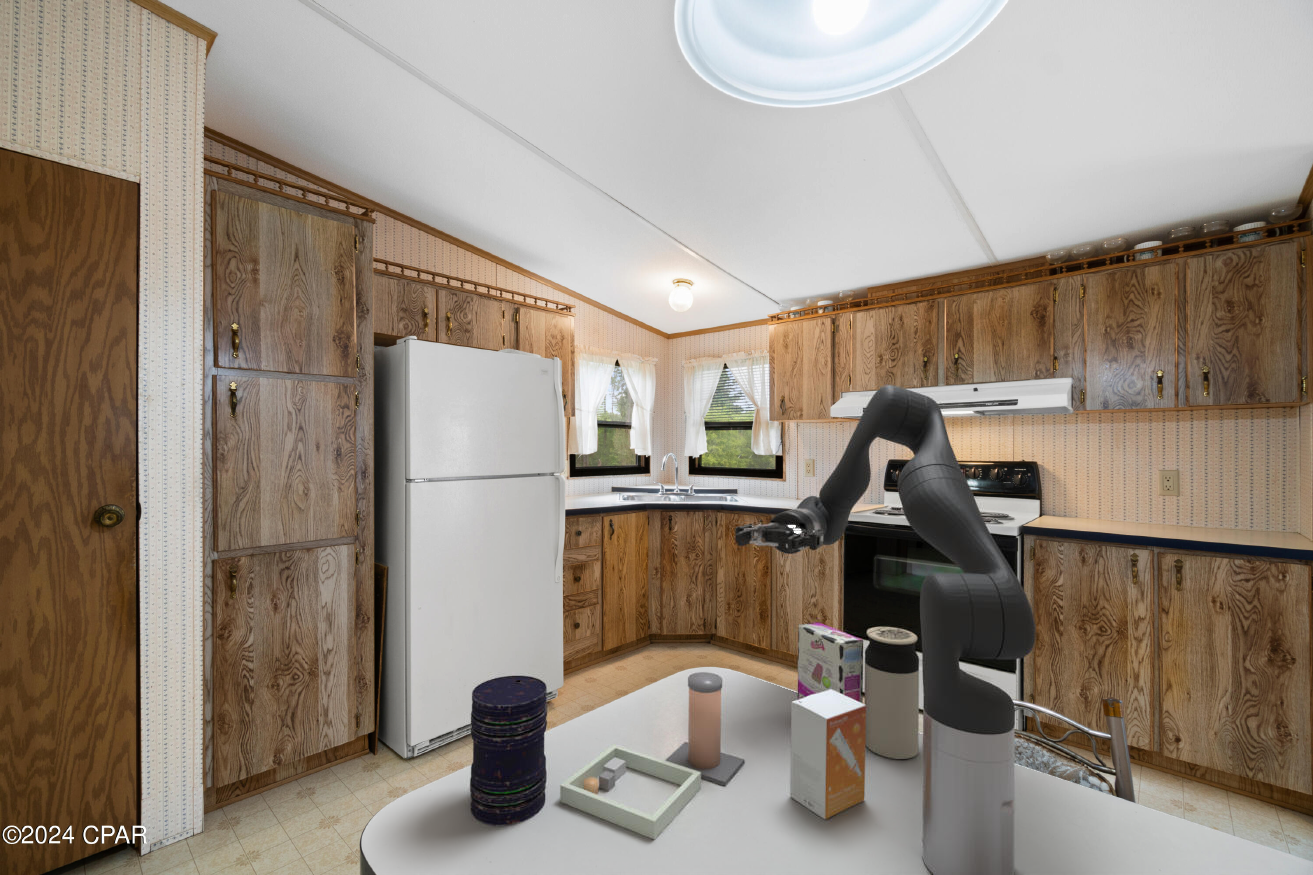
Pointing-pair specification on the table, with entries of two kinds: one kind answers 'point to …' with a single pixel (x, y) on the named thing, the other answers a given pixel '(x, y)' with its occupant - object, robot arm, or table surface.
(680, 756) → the mat
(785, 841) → the table surface
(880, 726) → the travel mug
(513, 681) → the dark blue barrel
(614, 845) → the table surface
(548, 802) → the table surface
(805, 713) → the small box
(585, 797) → the parts tub
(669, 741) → the table surface
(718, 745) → the canister
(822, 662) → the candy bar box
